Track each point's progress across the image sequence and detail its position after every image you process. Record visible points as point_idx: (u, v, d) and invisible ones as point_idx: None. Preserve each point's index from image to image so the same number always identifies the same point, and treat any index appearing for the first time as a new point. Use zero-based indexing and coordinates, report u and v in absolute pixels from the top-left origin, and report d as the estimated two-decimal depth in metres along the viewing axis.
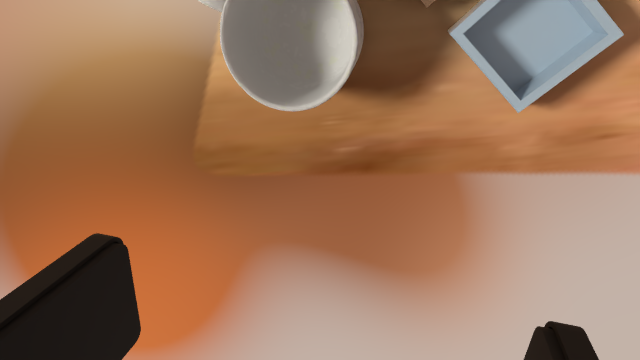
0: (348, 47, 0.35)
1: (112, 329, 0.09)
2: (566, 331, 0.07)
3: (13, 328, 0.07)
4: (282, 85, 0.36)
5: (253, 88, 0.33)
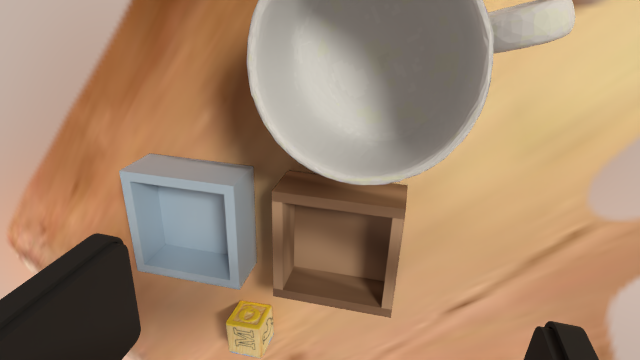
0: (317, 80, 0.24)
1: (112, 329, 0.09)
2: (566, 331, 0.07)
3: (13, 328, 0.07)
4: None
5: None
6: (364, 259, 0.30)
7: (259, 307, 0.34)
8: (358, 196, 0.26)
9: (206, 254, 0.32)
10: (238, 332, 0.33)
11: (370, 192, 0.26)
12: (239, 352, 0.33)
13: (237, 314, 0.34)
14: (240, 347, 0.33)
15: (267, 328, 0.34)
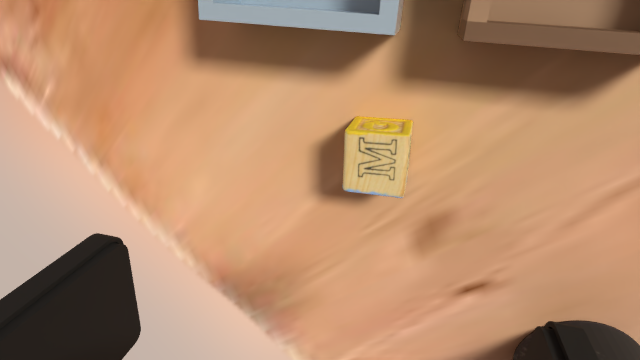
0: None
1: (112, 329, 0.09)
2: (566, 331, 0.07)
3: (13, 328, 0.07)
4: None
5: None
6: None
7: (392, 122, 0.20)
8: None
9: (316, 8, 0.19)
10: (367, 146, 0.19)
11: None
12: (362, 189, 0.20)
13: (360, 125, 0.20)
14: (366, 178, 0.19)
15: None
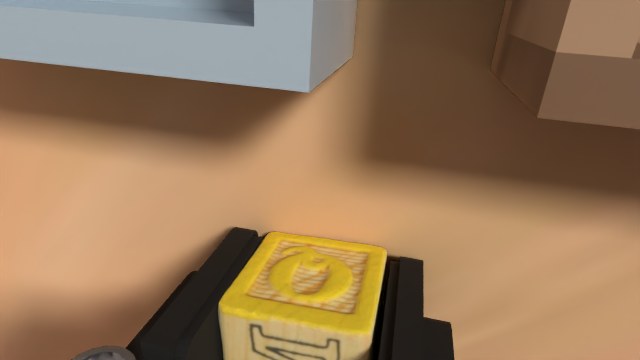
0: None
1: None
2: (407, 262, 0.09)
3: (206, 312, 0.07)
4: None
5: None
6: None
7: (342, 253, 0.09)
8: None
9: (143, 4, 0.08)
10: (271, 344, 0.08)
11: None
12: None
13: (264, 273, 0.09)
14: None
15: (376, 331, 0.09)
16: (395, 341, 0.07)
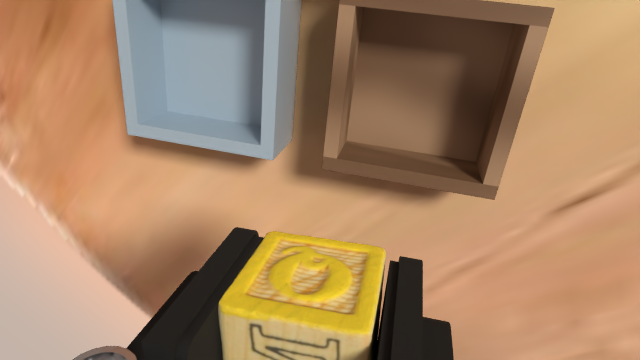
0: None
1: None
2: (406, 262, 0.09)
3: (207, 312, 0.07)
4: None
5: None
6: (450, 127, 0.21)
7: (341, 253, 0.09)
8: None
9: (224, 122, 0.24)
10: (271, 343, 0.08)
11: None
12: None
13: (264, 273, 0.09)
14: None
15: (375, 331, 0.09)
16: (394, 341, 0.07)
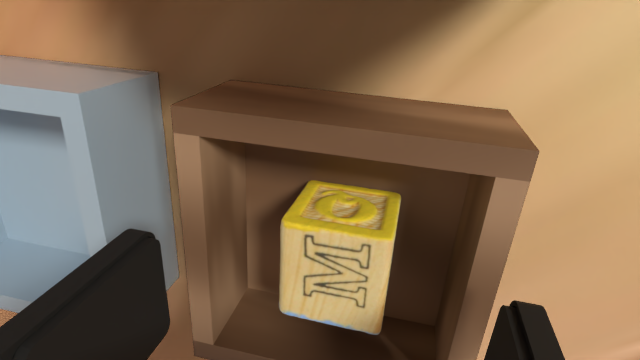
0: None
1: (145, 321, 0.10)
2: (527, 309, 0.08)
3: (62, 318, 0.07)
4: None
5: None
6: (393, 280, 0.14)
7: (367, 195, 0.12)
8: (397, 122, 0.10)
9: (77, 260, 0.16)
10: (319, 250, 0.11)
11: (425, 117, 0.10)
12: (311, 315, 0.11)
13: (311, 205, 0.12)
14: (317, 299, 0.11)
15: (392, 252, 0.12)
16: None
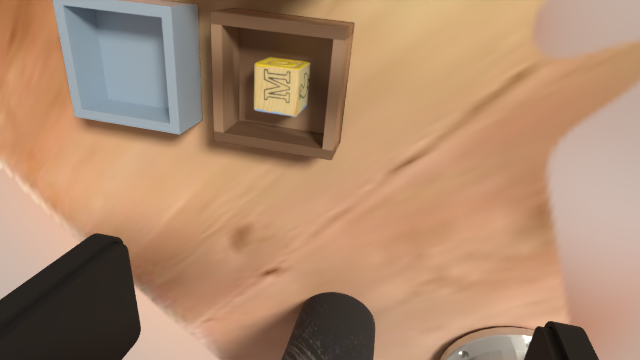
0: None
1: (112, 329, 0.09)
2: (566, 331, 0.07)
3: (13, 328, 0.07)
4: None
5: None
6: (309, 109, 0.29)
7: (294, 62, 0.27)
8: (300, 20, 0.25)
9: (149, 107, 0.31)
10: (270, 76, 0.26)
11: (314, 20, 0.25)
12: (267, 109, 0.27)
13: (268, 62, 0.27)
14: (270, 101, 0.26)
15: (303, 84, 0.27)
16: None
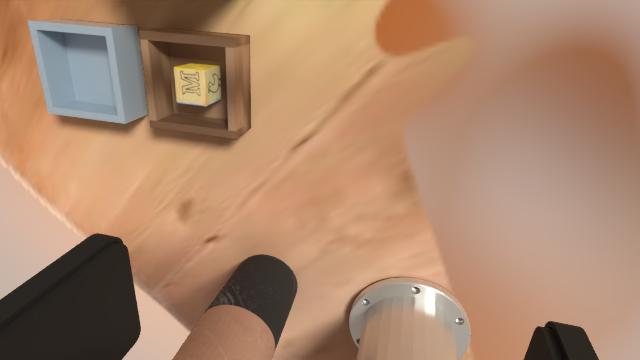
0: None
1: (112, 329, 0.09)
2: (566, 331, 0.07)
3: (13, 328, 0.07)
4: None
5: None
6: (224, 102, 0.38)
7: (208, 66, 0.36)
8: (204, 34, 0.34)
9: (106, 105, 0.40)
10: (185, 76, 0.35)
11: (215, 34, 0.34)
12: (185, 101, 0.35)
13: (186, 66, 0.35)
14: (187, 95, 0.35)
15: (213, 82, 0.36)
16: None
